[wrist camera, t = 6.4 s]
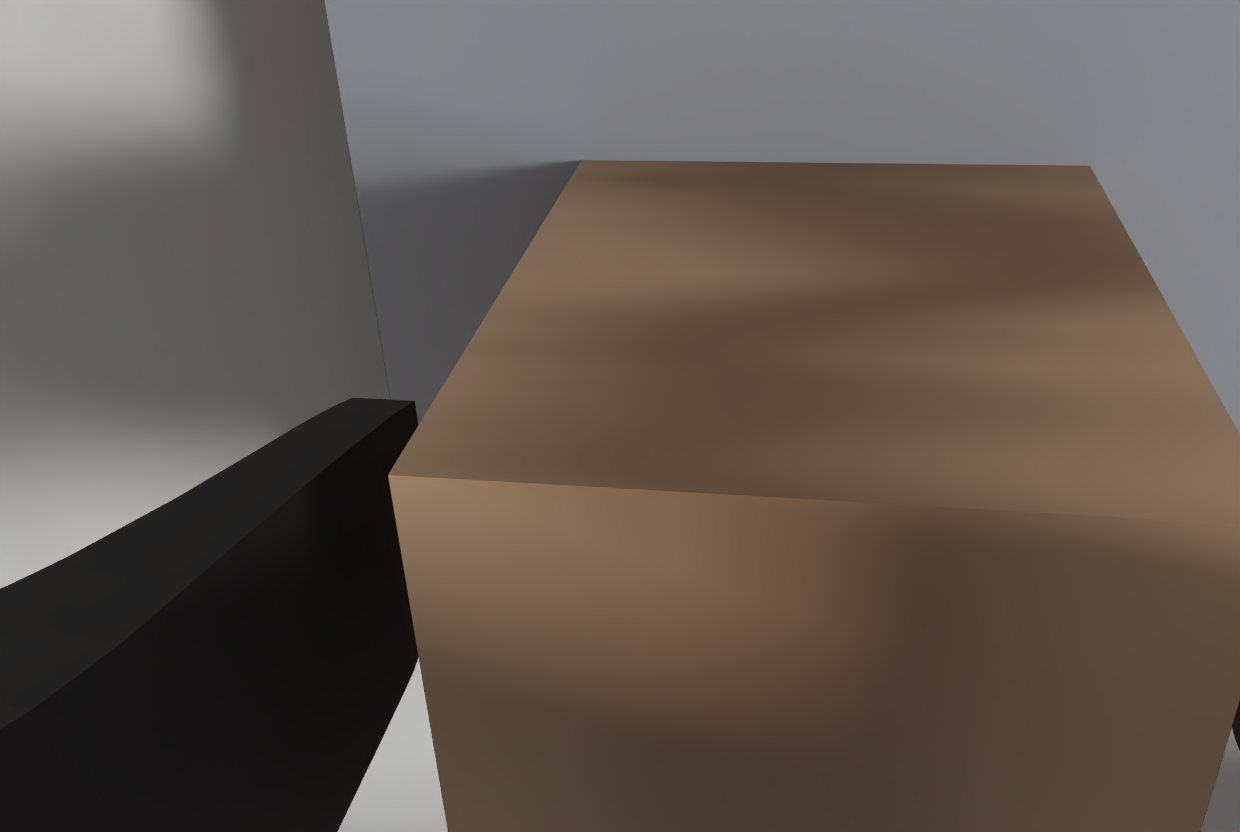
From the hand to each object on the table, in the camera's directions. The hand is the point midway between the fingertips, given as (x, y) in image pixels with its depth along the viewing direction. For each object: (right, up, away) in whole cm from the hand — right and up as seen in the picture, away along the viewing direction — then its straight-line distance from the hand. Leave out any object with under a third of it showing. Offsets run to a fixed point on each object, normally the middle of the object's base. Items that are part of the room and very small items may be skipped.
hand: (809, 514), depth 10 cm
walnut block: (+1, +1, +3) cm, 3 cm away
